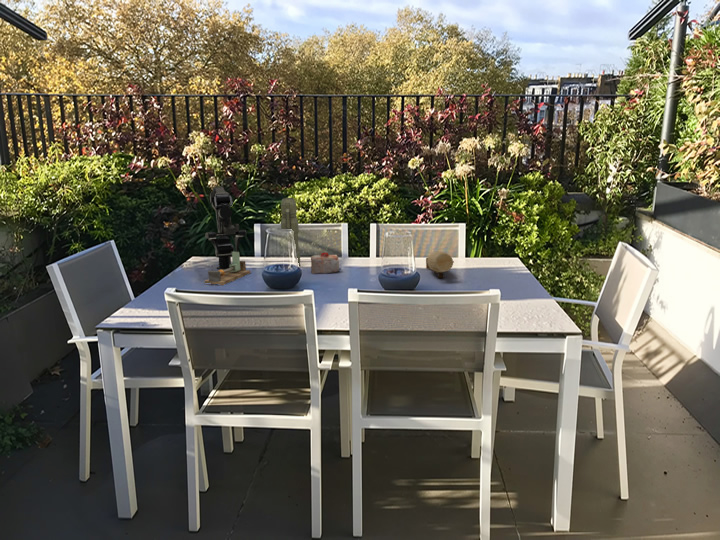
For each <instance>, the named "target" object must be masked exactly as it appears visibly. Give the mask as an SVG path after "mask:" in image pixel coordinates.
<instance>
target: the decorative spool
mask: <svg viewBox="0 0 720 540" xmlns="http://www.w3.org/2000/svg"><path fill="white" fill-rule="evenodd" d="M454 263H455V262H454V260H453V258H452V256H451V255H450V254H448V253H446V251H445V252H444V251H433V252H431V253H430V254H429V255H428V256H427V257H426V258H425V265H426V266H425V269H427V270H431V271H432V272H434V273H435V274H437V276H438V277H437V278H438V279H444V273H445V272H448V271H450V270H451V269H452V268H453V265H454Z"/></svg>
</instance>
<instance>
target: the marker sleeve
mask: <svg viewBox="0 0 720 540" xmlns="http://www.w3.org/2000/svg"><path fill="white" fill-rule="evenodd" d="M240 261H241V259H240V252H239V251H234V252H232V256H231V264H230V268H231V267H233V266H235V269H234V270H231V271H230V272H237V271H239V270H240Z"/></svg>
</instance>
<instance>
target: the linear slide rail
mask: <svg viewBox="0 0 720 540" xmlns="http://www.w3.org/2000/svg"><path fill="white" fill-rule="evenodd" d="M246 264H247V263H246V261H245V260H240V270H239V271H237V272H230V271H231V270H234V269H235V266H233V267H231V268H228V269H217V270H209V271H207V273H208V279H205V280H204V284H205V283H211V284H220V285H219V286H225V285H228V284H230V283H232V282H234V281H236V279H237V280H239V279H241V278H244V277H245V275H246V276H248V275H250V274H251V270H249V269H247V266H246ZM247 274H248V275H247ZM238 278H239V279H238ZM231 281H232V282H231ZM229 282H230V283H229ZM227 283H228V284H227ZM211 284H210V285H211ZM224 284H225V285H224Z"/></svg>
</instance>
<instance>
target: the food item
mask: <svg viewBox="0 0 720 540" xmlns="http://www.w3.org/2000/svg"><path fill="white" fill-rule="evenodd" d="M339 269H340V259H339V256H338V255H337V254H329V253H328V252H325V251H324V252H321V254H320V255H319V254H318V255H316V254H315V255H311V257H310V272H311V274H313V275H314V274H332V273H337V272H338V271H339Z"/></svg>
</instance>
